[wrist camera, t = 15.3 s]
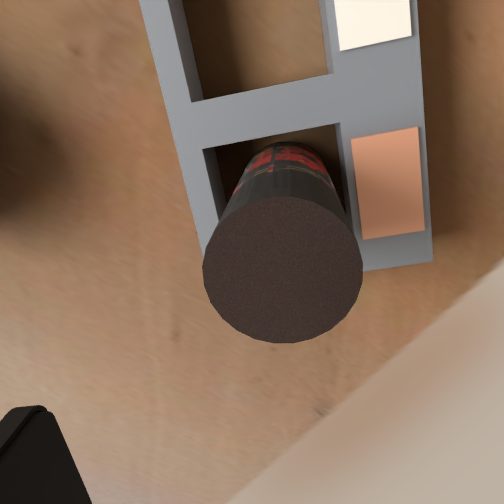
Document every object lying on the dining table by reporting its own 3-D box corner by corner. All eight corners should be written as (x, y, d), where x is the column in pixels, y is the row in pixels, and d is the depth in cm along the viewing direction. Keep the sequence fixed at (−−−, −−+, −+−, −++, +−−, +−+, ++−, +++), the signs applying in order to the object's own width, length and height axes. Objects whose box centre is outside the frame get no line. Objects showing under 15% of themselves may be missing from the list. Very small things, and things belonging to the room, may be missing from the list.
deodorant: (347, 191, 30) (396, 285, 16) (279, 243, 32) (271, 369, 18) (291, 122, 29) (293, 160, 15) (224, 180, 31) (169, 263, 17)
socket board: (388, -124, 24) (408, -166, 20) (416, 239, 31) (434, 263, 27) (143, -59, 26) (116, -84, 22) (221, 269, 33) (211, 295, 29)
